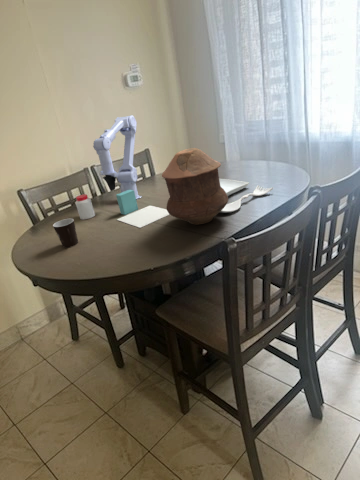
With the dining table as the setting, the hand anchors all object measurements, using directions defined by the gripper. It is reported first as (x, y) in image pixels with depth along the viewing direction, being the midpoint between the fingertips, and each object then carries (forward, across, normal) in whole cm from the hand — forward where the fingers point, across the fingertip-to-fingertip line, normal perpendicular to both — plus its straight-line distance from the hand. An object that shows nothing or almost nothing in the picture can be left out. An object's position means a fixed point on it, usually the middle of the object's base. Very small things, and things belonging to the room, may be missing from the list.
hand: (112, 189), depth 177 cm
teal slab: (+10, +11, +1) cm, 15 cm away
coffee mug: (+12, +21, -36) cm, 43 cm away
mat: (+11, +25, +1) cm, 27 cm away
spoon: (+11, +57, +33) cm, 67 cm away
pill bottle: (+11, -6, -14) cm, 19 cm away
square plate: (+11, +33, +38) cm, 51 cm away
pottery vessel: (+11, +54, +9) cm, 55 cm away
